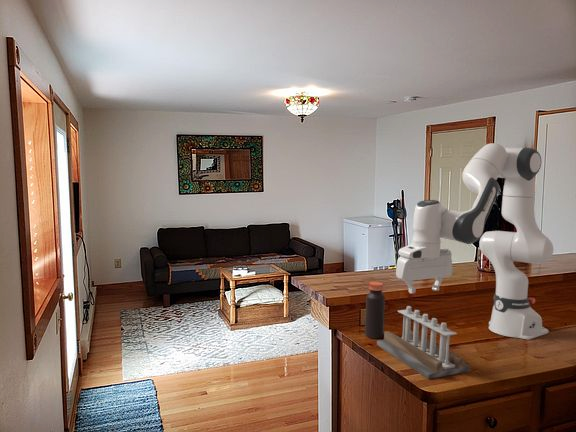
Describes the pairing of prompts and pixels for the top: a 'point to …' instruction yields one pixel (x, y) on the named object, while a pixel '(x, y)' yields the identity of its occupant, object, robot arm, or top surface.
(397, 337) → the cradle
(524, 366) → the top surface
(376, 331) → the bottle
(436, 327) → the test tube rack
